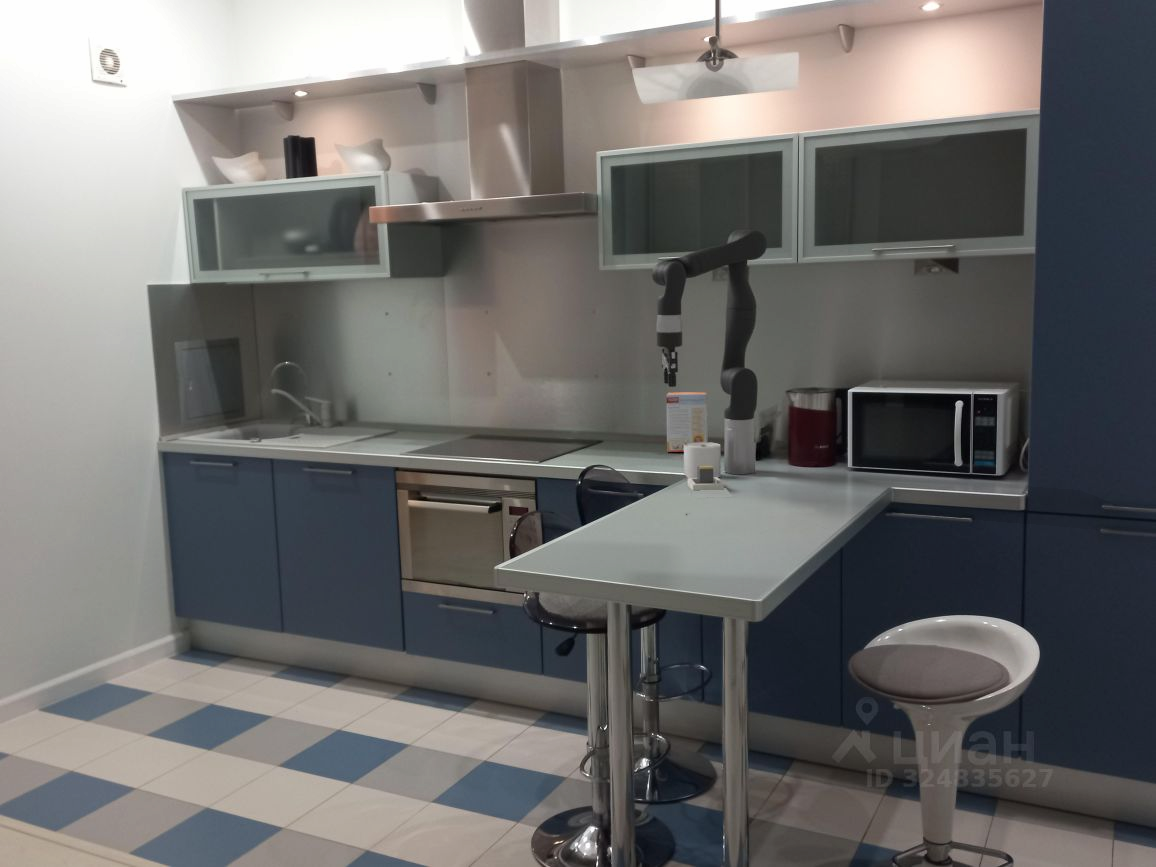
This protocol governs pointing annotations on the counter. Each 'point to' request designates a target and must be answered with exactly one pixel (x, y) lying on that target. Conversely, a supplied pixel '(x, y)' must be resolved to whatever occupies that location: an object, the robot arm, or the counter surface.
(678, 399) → the cracker box
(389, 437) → the counter surface
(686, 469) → the toilet tissue
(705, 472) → the plug
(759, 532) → the counter surface
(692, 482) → the cream rectangular tray
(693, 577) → the counter surface
